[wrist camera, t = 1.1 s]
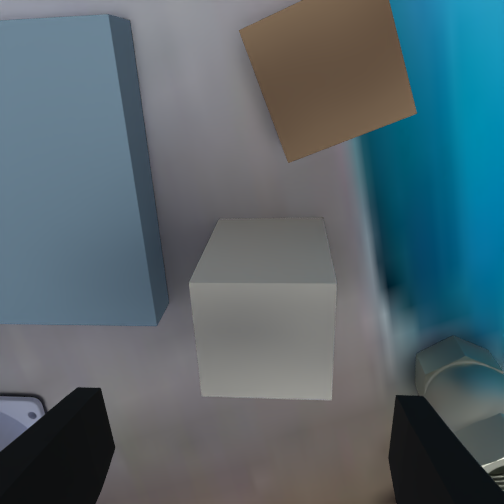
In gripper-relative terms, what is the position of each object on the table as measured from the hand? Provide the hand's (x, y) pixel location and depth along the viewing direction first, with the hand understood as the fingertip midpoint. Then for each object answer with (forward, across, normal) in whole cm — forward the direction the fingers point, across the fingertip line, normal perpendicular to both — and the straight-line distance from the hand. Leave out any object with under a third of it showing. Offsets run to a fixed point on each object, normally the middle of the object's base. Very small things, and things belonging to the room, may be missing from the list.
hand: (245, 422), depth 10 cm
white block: (+10, 0, 0) cm, 10 cm away
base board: (+9, +11, -4) cm, 15 cm away
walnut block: (+10, -2, -8) cm, 13 cm away
